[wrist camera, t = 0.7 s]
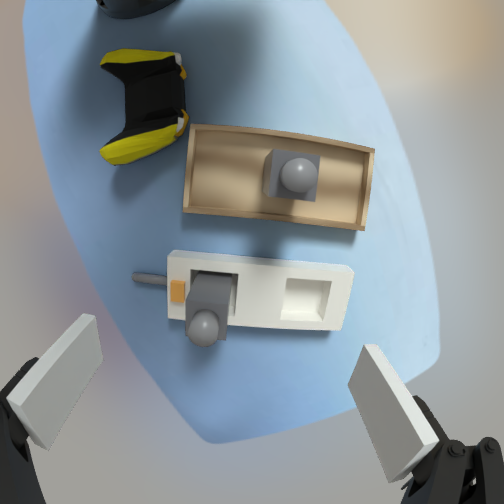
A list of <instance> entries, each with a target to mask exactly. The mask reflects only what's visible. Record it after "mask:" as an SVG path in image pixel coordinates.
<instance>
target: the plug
mask: <svg viewBox="0 0 504 504" xmlns="http://www.w3.org/2000/svg"><path fill="white" fill-rule="evenodd" d="M319 166H320V155H314V154H307V153H301V152H294V151H287V150H279V149H273V150H272V151H271V152H270V153H269V154H268V155H267V156H266V157H265V165H264V175H263V184H262V192H263V193H265V194H266V195H267V196H269V197H278V198H286V199H295V200H303V201H310V202H315V200H316V192H317V183H318V175H319Z"/></svg>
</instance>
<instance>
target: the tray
mask: <svg viewBox="0 0 504 504" xmlns="http://www.w3.org/2000/svg"><path fill="white" fill-rule="evenodd" d="M273 149H279V150H287V151H294V152H301V153H307V154H314V155H320V166H319V175H318V183H317V192H316V200H315V202H310V201H303V200H295V199H286V198H278V197H269V196H267V195H266V194H265V193H263V192H262V184H263V175H264V165H265V157H266V156H267V155H268V154H269V153H270V152H271V151H272V150H273ZM374 153H375V149H373V148H369V147H365V146H361V145H357V144H352V143H348V142H343V141H338V140H333V139H328V138H323V137H317V136H311V135H305V134H299V133H292V132H285V131H278V130H270V129H261V128H251V127H240V126H227V125H211V124H191V125H190V133H189V142H188V152H187V162H186V173H185V185H184V198H183V212H185V213H198V214H210V215H222V216H234V217H244V218H255V219H265V220H275V221H284V222H294V223H303V224H311V225H320V226H328V227H336V228H344V229H352V230H360V231H365V225H366V218H367V212H368V205H369V198H370V190H371V182H372V173H373V164H374Z"/></svg>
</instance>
